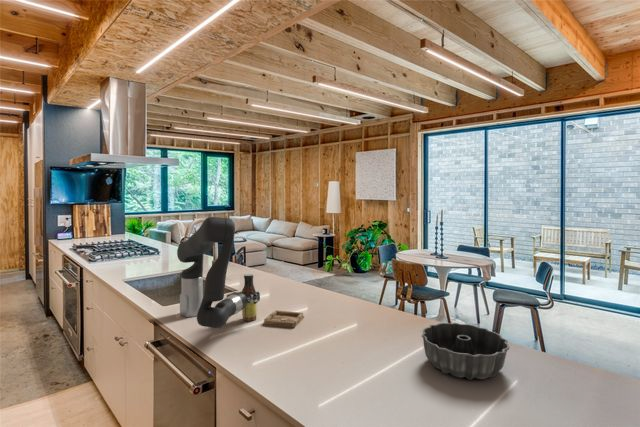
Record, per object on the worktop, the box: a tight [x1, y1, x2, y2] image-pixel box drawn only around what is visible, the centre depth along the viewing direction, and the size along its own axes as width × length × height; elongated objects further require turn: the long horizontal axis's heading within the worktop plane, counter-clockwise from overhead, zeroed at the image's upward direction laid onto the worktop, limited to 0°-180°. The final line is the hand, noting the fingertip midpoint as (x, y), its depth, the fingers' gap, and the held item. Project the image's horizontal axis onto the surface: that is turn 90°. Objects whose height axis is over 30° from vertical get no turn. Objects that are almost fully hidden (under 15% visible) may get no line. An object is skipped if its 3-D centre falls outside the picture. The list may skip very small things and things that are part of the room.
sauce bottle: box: [241, 273, 258, 322], centre depth 163 cm, size 7×6×20 cm
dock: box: [262, 310, 305, 329], centre depth 162 cm, size 14×14×2 cm
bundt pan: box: [421, 322, 510, 381], centre depth 120 cm, size 26×26×10 cm
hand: (251, 293), depth 165 cm, fingers closed on sauce bottle, 6 cm apart
